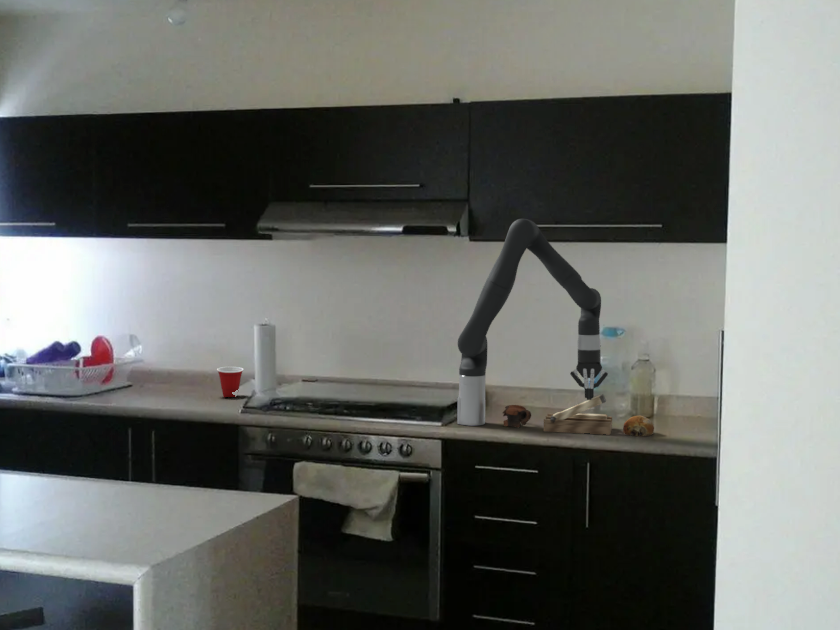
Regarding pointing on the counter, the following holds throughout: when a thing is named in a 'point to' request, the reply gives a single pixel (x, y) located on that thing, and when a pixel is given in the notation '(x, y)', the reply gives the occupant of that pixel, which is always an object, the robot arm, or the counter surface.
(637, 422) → the bread roll
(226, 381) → the plastic cup
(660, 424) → the counter surface
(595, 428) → the wooden slat frame
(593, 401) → the hinged leg
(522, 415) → the pottery mug
